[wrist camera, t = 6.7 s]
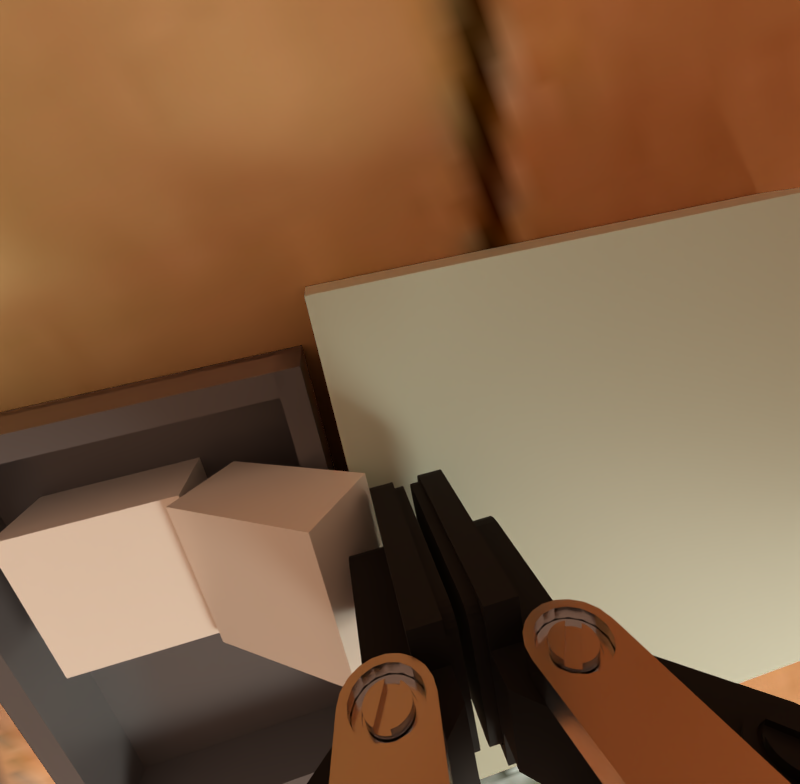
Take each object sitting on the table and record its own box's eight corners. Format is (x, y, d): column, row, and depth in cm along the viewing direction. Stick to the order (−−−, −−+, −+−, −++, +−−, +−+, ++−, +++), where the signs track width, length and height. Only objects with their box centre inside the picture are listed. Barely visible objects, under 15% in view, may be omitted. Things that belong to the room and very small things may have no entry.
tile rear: (-14, 544, 9) (40, 496, 11) (66, 678, 11) (102, 615, 13) (178, 495, 10) (199, 457, 12) (232, 628, 11) (244, 575, 13)
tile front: (364, 473, 9) (308, 532, 8) (399, 615, 11) (357, 691, 9) (234, 461, 11) (165, 507, 10) (276, 583, 13) (223, 642, 11)
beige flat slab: (759, 193, 13) (879, 176, 11) (728, 598, 19) (803, 659, 16) (305, 286, 12) (304, 295, 9) (411, 706, 17) (431, 797, 14)
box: (301, 345, 12) (299, 366, 10) (391, 682, 16) (405, 754, 14) (-58, 425, 11) (-159, 471, 8) (139, 765, 15) (108, 859, 13)
